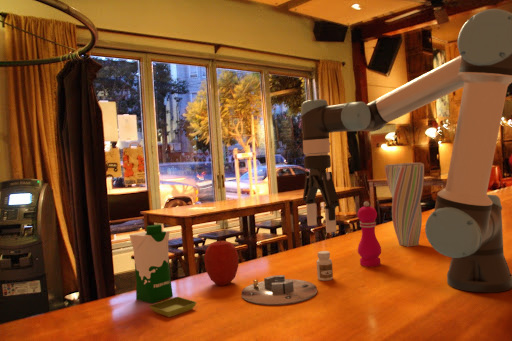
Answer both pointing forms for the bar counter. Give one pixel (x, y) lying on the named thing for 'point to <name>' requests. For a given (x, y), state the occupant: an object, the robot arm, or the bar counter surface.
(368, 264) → the pepper mill
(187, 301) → the olive square tray
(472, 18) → the robot arm
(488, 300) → the bar counter surface
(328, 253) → the pill bottle
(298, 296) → the flange plate
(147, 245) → the milk carton
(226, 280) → the apple
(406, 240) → the vase
